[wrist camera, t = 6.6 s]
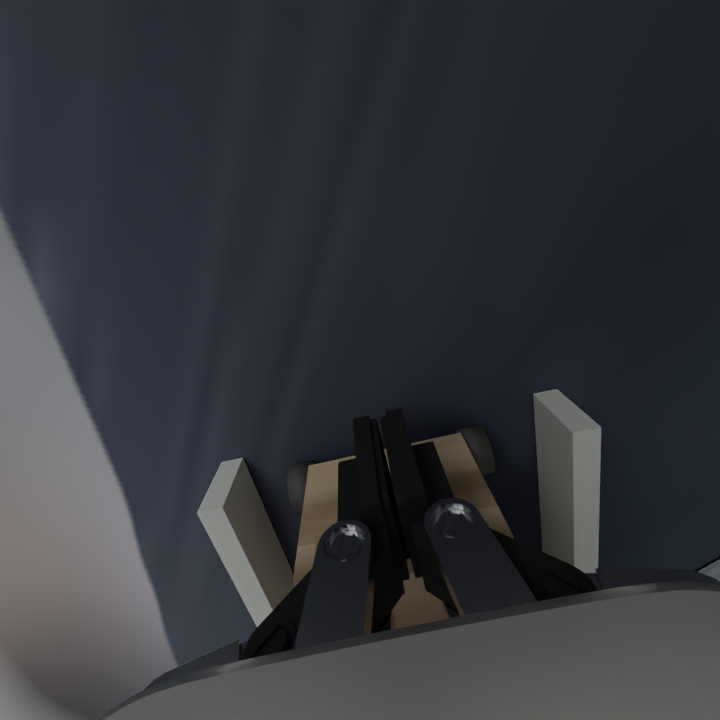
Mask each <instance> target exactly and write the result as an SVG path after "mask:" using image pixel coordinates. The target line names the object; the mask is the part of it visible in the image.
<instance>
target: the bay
mask: <svg viewBox="0 0 720 720" xmlns="http://www.w3.org/2000/svg"><path fill="white" fill-rule="evenodd" d="M533 399H534V417H535V434H536V451H537V468H538V485H539V503H540V520H541V537H542V552H544V553H547V554H549V555H551V556H553V557H556V558H558V559H560V560H562V561H564V562H567V563H569V564H571V565H573V566H575V567H576V568H578V569H580V570H581V571H583V572H584V573H595V570H596V568H598V547H599V504H600V460H601V426H599V425H598V424H597V423H596V422H595V421H594V420H592V419H591V418H590V417H589V416H588V415H587V414H585V413H584V412H583V411H582V410H581V409H580V408H578V407H577V406H576V405H575V404H574V403H573V402H571V401H570V400H569V399H568V398H567V397H566V396H564V395H563V394H562V393H561V392H560V391H559V390H557V389H553V390H548V391H544V392H539V393H535V394H533ZM197 514H198V516H199V518H200V520H201V522H202V524H203V526H204V528H205V529H206V531H207V533H208V535H209V537H210V539H211V541H212V543H213V545H214V546H215V548H216V550H217V552H218V554H219V556H220V558H221V560H222V562H223V564H224V565H225V567H226V569H227V571H228V573H229V575H230V577H231V579H232V581H233V582H234V584H235V586H236V588H237V590H238V592H239V594H240V596H241V598H242V600H243V601H244V603H245V605H246V607H247V609H248V611H249V613H250V615H251V617H252V618H253V620H254V622H255V624H256V626H257V627H258V626H259V625H260V624H261V623H262V622H263V620H264V619H265V618H266V617H267V616H268V615H269V614H270V613H271V612H272V611H273V610H274V609H275V608H276V607H277V605H278V604H279V603H280V602H281V601H282V600H283V599H284V598H285V597H286V596H287V595H288V594H289V593H290V591H291V590H292V589H293V588H294V587H295V586H294V584H293V576H294V575H293V572H292V570H291V568H290V566H289V563H288V561H287V559H286V556H285V554H284V552H283V549H282V547H281V545H280V542H279V540H278V538H277V535H276V533H275V531H274V529H273V526H272V524H271V522H270V519H269V517H268V515H267V512H266V510H265V508H264V505H263V503H262V501H261V498H260V496H259V494H258V492H257V489H256V487H255V485H254V482H253V480H252V478H251V475H250V473H249V471H248V468H247V466H246V464H245V461H244V459H243V458H238V459H233V460H229V461H224V462H221V464H220V466H219V468H218V470H217V472H216V474H215V476H214V479H213V481H212V483H211V485H210V487H209V489H208V491H207V493H206V495H205V497H204V499H203V501H202V503H201V505H200V508H199V510H198V512H197Z"/></svg>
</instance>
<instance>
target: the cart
mask: <svg viewBox="0 0 720 720" xmlns="http://www.w3.org/2000/svg"><path fill="white" fill-rule="evenodd" d="M430 441H433V442H434V445H435V447H436V450H437V453H438V455H439V458H440V460H441V463H442V466H443V468H444V471H445V474H446V476H447V479H448V482H449V484H450V487H451V490H452V492H453V495H454V497H455V498H458V499H462V500H465V501H467V502H469V503H471V504H472V505H473V506H474V507H475V508H476V509H477V510H478V511H479V513H480V514H481V516H482V517H483V519H484V520H485V522H486V523H487V525H488V526H489V528H491V529H493V530H495V531H498V532H500V533H502V534H504V535H506V536H509V537H511V538H513V539H514V536H513V535H512V533H511V531H510V529H509V527H508V525H507V523H506V521H505V519H504V517H503V515H502V513H501V511H500V509H499V507H498V505H497V503H496V501H495V499H494V497H493V495H492V493H491V491H490V490H489V488H488V486H487V484H486V482H485V480H484V478H483V476H482V475H483V474H488V473H493V472H494V471H495V462H494V456H493V452H492V448H491V445H490V442H489V439H488V437H487V434H486V432H485V430H484V429H483V427H482V426H481V425H476V426H471V427H467V428H462V429H458V430H456V432H455V434H452V435H447V436H442V437H438V438H433V439H429V440H424V441H420V442H415V443H411V445H417V444H421V443H426V442H430ZM384 451H385V455H386V459H387V463H388V467H389V462H388V457H387V451H386V449H384ZM353 458H355V456H351V457H346V458H341V459H337V460H332V461H328V462H323V463H319V464H316V463H315V462H314V461H311V462H307V463H302V464H297V465H293V466H290V467H289V469H288V472H287V489H288V495H289V500H290V503H291V506H292V508H293V510H294V512H295V513H297V514H298V513H302V518H301V525H300V532H299V539H298V547H297V554H296V561H295V568H294V576H293V584H294V586H296V585H297V584H298V583H299V582H300V581H301V580H302V579H303V577H304V576H305V575H306V574H307V573H308V572H309V571H310V570H311V569H312V567H313V563H314V558H315V554H316V549H317V545H318V542H319V540H320V537H321V536H322V534H323V533H324V532H325V530H327V529H328V528H329V527H330V526H332V525H333V524H335V523H337V518H338V463H339V462H340V461H344V460H349V459H353ZM389 471H390V468H389ZM390 475H391V473H390ZM397 510H398V509H397ZM398 515H399V512H398ZM399 521H400V526H401V532H402V537H403V543H404V548H405V554H406V559H407V565H408V570H409V576H410V580H405V581H403V583H404V589H405V594H403V595H402V597H401V598H400V600H399V601H398V602H397V604H396V605H395V607H394V611H395V629H398V628H403V627H408V626H413V625H418V624H424V623H429V622H434V621H439V620H444V619H447V616H446V614H445V611H444V609H443V605H442V601H441V600H440V599H438V598H437V597H435V596H434V595H432V594H431V593H429V592H427V591H426V590H425V586H424V582H423V577H420V578H415V574H414V570H413V567H412V563H411V559H410V555H409V551H408V547H407V543H406V540H405V536H404V532H403V528H402V524H401V520H400V516H399Z"/></svg>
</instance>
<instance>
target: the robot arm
mask: <svg viewBox="0 0 720 720" xmlns="http://www.w3.org/2000/svg"><path fill="white" fill-rule="evenodd" d="M380 418H381V424H382V429H383V435H384V440H385V446H386V451H387V457H388V462H389V467H388V463H387V459H386V455H385V451H384V447H383V443H382V440H381V436H380V432H379V428H378V424H377V420H376V418H375V419H370V417H369V416H364V417H360V418H355V419H353V423H354V441H355V458H353V459H349V460H344V461H340V462H339V463H338V518H337V523H335V524H333V525H332V526H330V527H329V528H328V529H327V530H325V532H324V533H323V534H322V536H321V537H320V540H319V542H318V545H317V549H316V554H315V558H314V563H313V567H312V569H311V570H310V571H309V572H308V573H307V574H306V575H305V576H304V577H303V579H302V580H301V581H300V582H299V583H298V584H297V585H296V586H295V587H294V588H293V589H292V590H291V591H290V593H289V594H288V595H287V596H286V597H285V598H284V599H283V600H282V601H281V602H280V603H279V604H278V605H277V607H276V608H275V609H274V610H273V611H272V612H271V613H270V614H269V615H268V616H267V617H266V618H265V619H264V620H263V622H262V623H261V624H260V625H259V626H258V627H257V628H256V629H255V631H254V632H253V633H252V635H251V636H250V638H249V640H248V641H246V642H243V643H241V642H240V641H239V640H236V641H234V642H232V643H230V644H227V645H225V646H223V647H221V648H219V649H216V650H214V651H212V652H210V653H208V654H205V655H203V656H201V657H199V658H197V659H194V660H192V661H190V662H188V663H185V664H183V665H181V666H179V667H177V668H174V669H172V670H170V671H168V672H166V673H164V674H162V675H161V676H159V677H157V678H156V679H154V680H153V681H152V682H151V683H150V684H149V685H148V686H147V687H146V688H145V689H144V690H143V691H141V692H139V693H137V694H135V695H134V696H131V697H129V698H128V699H127V700H125V701H123V702H121V703H120V704H118V705H117V706H115V707H113V708H112V709H110V710H109V711H107V712H105V713H104V714H103V715H101V716H100V717H99V718H97V719H96V720H720V581H718V580H717V579H715V578H712V577H710V576H708V575H705V574H703V573H700V572H694V571H688V570H650V569H605V568H596V570H595V573H584V572H583V571H581V570H580V569H578V568H576V567H575V566H573V565H571V564H569V563H567V562H564V561H562V560H560V559H558V558H556V557H553V556H551V555H549V554H547V553H544V552H542V551H540V550H538V549H535V548H533V547H531V546H529V545H527V544H524V543H522V542H520V541H518V540H515V539H513V538H511V537H509V536H506V535H504V534H502V533H500V532H498V531H495V530H493V529H491V528H489V526H488V525H487V523H486V522H485V520H484V519H483V517H482V516H481V514H480V513H479V511H478V510H477V509H476V508H475V507H474V506H473V505H472V504H471V503H469V502H467V501H465V500H462V499H458V498H455V497H454V495H453V492H452V490H451V487H450V484H449V482H448V479H447V476H446V474H445V471H444V468H443V466H442V463H441V460H440V458H439V455H438V453H437V450H436V447H435V445H434V442H433V441H430V442H426V443H421V444H417V445H411V441H410V438H409V434H408V431H407V427H406V424H405V420H404V417H403V413H402V410H401V408H400V409H395V410H391V411H386V416H384V417H380ZM389 468H390V471H389ZM390 473H391V475H390ZM397 509H398V510H397ZM398 512H399V515H398ZM399 516H400V520H401V524H402V528H403V532H404V536H405V540H406V543H407V547H408V551H409V555H410V559H411V563H412V567H413V570H414V574H415V578H420V577H423V582H424V586H425V590H426V591H427V592H429V593H431V594H432V595H434V596H435V597H437V598H438V599H440V600H441V601H442V605H443V609H444V611H445V614H446V616H447V619H444V620H439V621H434V622H429V623H424V624H418V625H413V626H408V627H403V628H398V629H395V611H394V607H395V605H396V604H397V602H398V601H399V600H400V598H401V597H402V595H403V594H405V589H404V583H403V581H405V580H410V576H409V570H408V565H407V559H406V554H405V548H404V543H403V537H402V532H401V526H400V521H399Z"/></svg>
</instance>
